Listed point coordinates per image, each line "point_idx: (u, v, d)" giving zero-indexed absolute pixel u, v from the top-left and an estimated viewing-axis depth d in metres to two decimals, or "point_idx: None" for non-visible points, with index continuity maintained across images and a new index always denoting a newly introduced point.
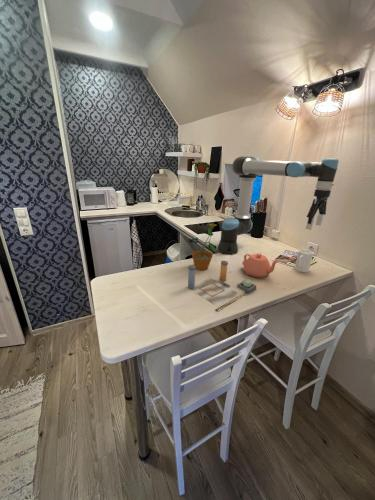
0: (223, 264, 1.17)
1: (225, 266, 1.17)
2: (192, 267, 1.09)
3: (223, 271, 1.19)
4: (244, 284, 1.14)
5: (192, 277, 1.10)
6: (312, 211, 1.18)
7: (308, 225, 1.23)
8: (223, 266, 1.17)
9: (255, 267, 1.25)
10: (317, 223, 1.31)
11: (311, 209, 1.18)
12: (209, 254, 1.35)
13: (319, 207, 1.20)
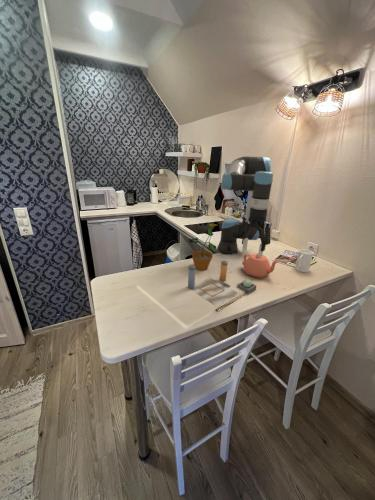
0: (223, 264, 1.17)
1: (226, 266, 1.17)
2: (192, 267, 1.09)
3: (223, 271, 1.19)
4: (244, 284, 1.14)
5: (192, 277, 1.10)
6: None
7: None
8: (223, 266, 1.17)
9: (255, 267, 1.25)
10: None
11: None
12: (209, 254, 1.35)
13: (248, 227, 1.04)
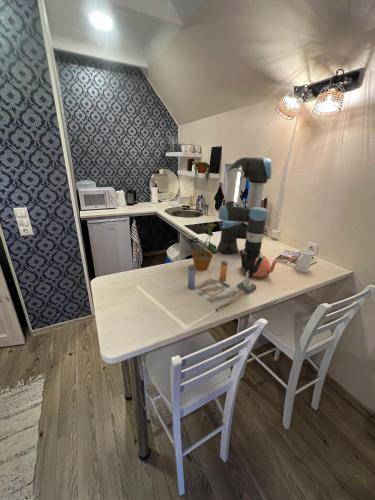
0: (223, 264, 1.17)
1: (226, 266, 1.17)
2: (192, 267, 1.09)
3: (223, 271, 1.19)
4: (244, 286, 1.14)
5: (192, 277, 1.10)
6: None
7: None
8: (223, 266, 1.17)
9: None
10: None
11: None
12: (209, 254, 1.35)
13: (247, 259, 1.09)
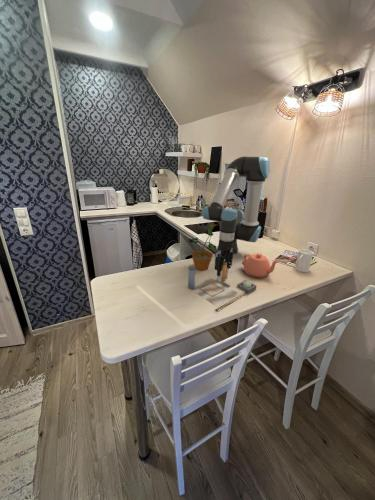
0: (223, 264, 1.17)
1: (225, 266, 1.17)
2: (192, 267, 1.09)
3: (223, 271, 1.18)
4: (244, 286, 1.14)
5: (192, 277, 1.10)
6: (217, 265, 1.14)
7: (218, 277, 1.19)
8: (223, 266, 1.17)
9: (255, 267, 1.25)
10: None
11: (216, 263, 1.14)
12: (209, 254, 1.35)
13: (224, 258, 1.14)
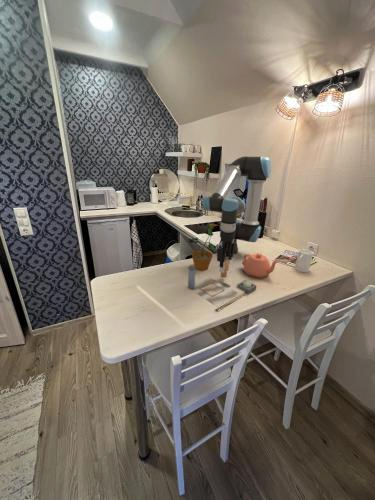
0: (224, 259, 1.16)
1: (226, 261, 1.17)
2: (192, 267, 1.09)
3: None
4: (244, 286, 1.14)
5: (192, 277, 1.10)
6: (219, 256, 1.13)
7: (221, 268, 1.19)
8: (224, 261, 1.17)
9: (255, 267, 1.25)
10: None
11: (218, 254, 1.13)
12: (209, 254, 1.35)
13: (226, 249, 1.13)
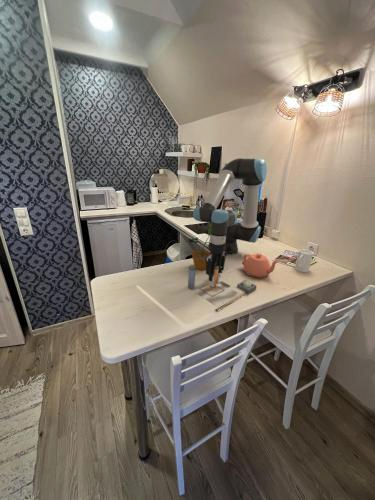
0: None
1: (216, 270, 1.10)
2: (192, 267, 1.09)
3: None
4: (244, 286, 1.14)
5: (192, 277, 1.10)
6: (208, 270, 1.07)
7: (210, 282, 1.13)
8: (214, 270, 1.10)
9: (255, 267, 1.25)
10: None
11: (207, 268, 1.08)
12: (209, 254, 1.35)
13: (215, 263, 1.08)
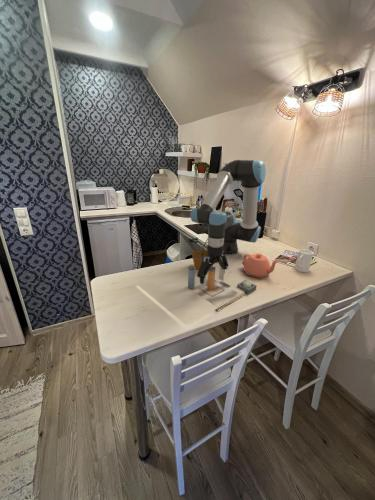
0: (211, 270, 1.08)
1: (213, 272, 1.08)
2: (192, 267, 1.09)
3: (211, 278, 1.09)
4: (244, 286, 1.14)
5: (192, 277, 1.10)
6: (201, 271, 1.02)
7: (201, 284, 1.07)
8: (211, 272, 1.08)
9: (255, 267, 1.25)
10: (220, 277, 1.15)
11: (200, 268, 1.02)
12: None
13: (211, 265, 1.04)
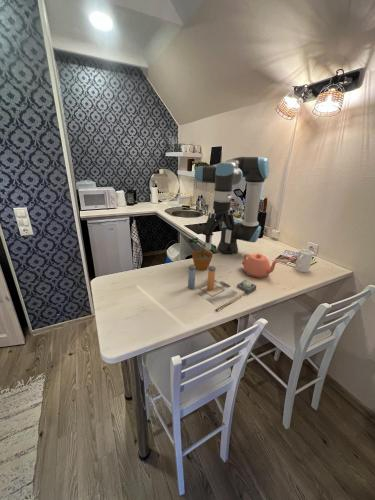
0: (211, 270, 1.08)
1: (213, 272, 1.08)
2: (192, 267, 1.09)
3: (211, 278, 1.09)
4: (244, 286, 1.14)
5: (192, 277, 1.10)
6: (207, 228, 0.95)
7: (207, 244, 1.00)
8: (211, 272, 1.08)
9: (255, 267, 1.25)
10: (226, 240, 1.09)
11: (206, 225, 0.96)
12: (209, 254, 1.35)
13: (217, 223, 0.97)
